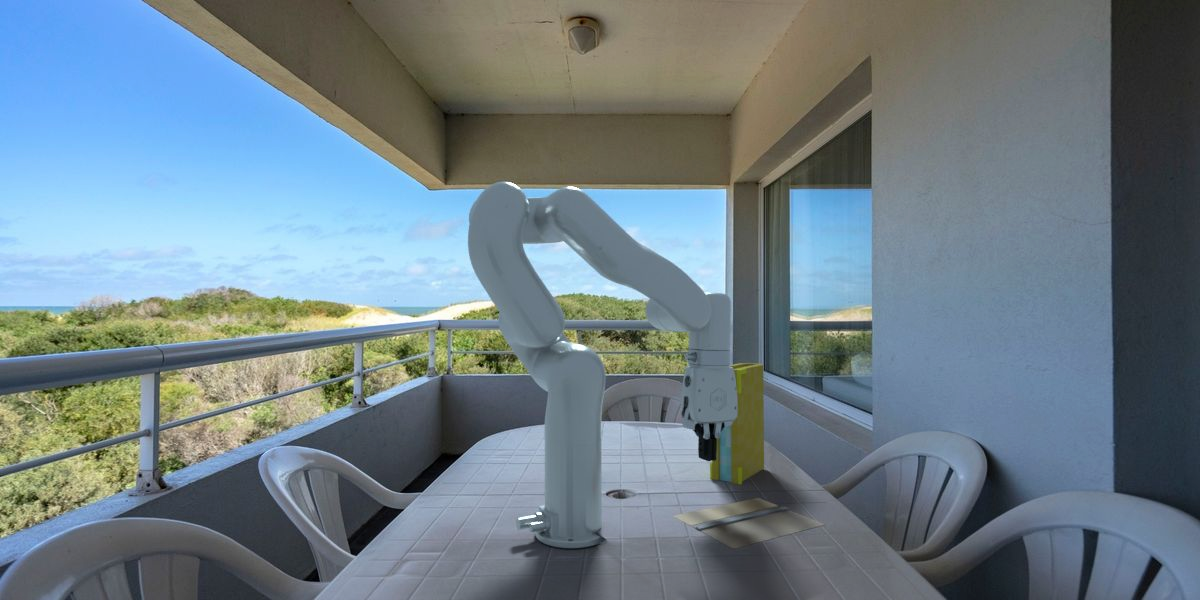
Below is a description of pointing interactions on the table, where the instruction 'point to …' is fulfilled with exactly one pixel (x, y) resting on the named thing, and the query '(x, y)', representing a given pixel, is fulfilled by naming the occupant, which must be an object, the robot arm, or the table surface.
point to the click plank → (724, 511)
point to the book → (743, 429)
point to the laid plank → (757, 526)
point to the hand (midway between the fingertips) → (707, 459)
